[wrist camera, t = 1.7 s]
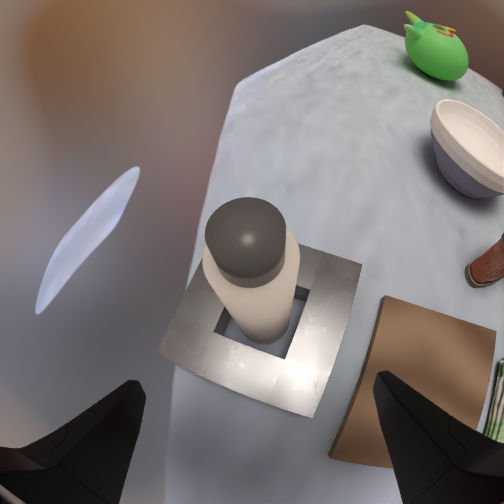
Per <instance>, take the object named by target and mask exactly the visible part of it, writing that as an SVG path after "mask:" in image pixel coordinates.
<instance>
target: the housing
mask: <svg viewBox="0 0 504 504" xmlns="http://www.w3.org/2000/svg"><path fill="white" fill-rule="evenodd" d="M298 246H299V251H300V263H299V270H298V276H297V282H296V288H295V293H294V297H295V298H298V299H301V300H304V301H307V302H306V304H305V307H304V310H303V313H302V316H301V318H300V321H299V324H298V327H297V329H296V332H295V335H294V337H293V340H292V343H291V345H290V348H289V350H288V353H287V356H286V358H285V360H284V359H281V358H278V357H276V356H273V355H270V354H267V353H265V352H262V351H259V350H257V349H254V348H251V347H249V346H246V345H244V344H241V343H239V342H236V341H234V340H231V339H229V338H226V337H224V336H223V334H224V331H225V329H226V327H227V325H228V322H229V320H230V318H231V315H230V313H229V312H228V310H227V309H226V307H225V306H224V304H223V303H222V301H221V300H220V298H219V297H218V295H217V294H216V292H215V291H214V289H213V288H212V286H211V285H210V283H209V282H208V280H207V278H206V276H205V273H204V270H203V258H202V260H201V262H200V264H199V266H198V268H197V270H196V272H195V274H194V276H193V278H192V280H191V282H190V284H189V286H188V288H187V290H186V292H185V294H184V296H183V298H182V300H181V302H180V304H179V306H178V308H177V310H176V312H175V314H174V317H173V319H172V321H171V323H170V325H169V327H168V329H167V331H166V333H165V336H164V338H163V340H162V342H161V344H160V346H159V348H158V351H157V354H159V355H161V356H163V357H164V358H166V359H168V360H170V361H172V362H174V363H176V364H178V365H180V366H181V367H183V368H185V369H187V370H190V371H192V372H194V373H196V374H198V375H200V376H202V377H204V378H206V379H208V380H211V381H213V382H215V383H217V384H220V385H222V386H224V387H227V388H229V389H231V390H234V391H236V392H239V393H241V394H243V395H246V396H249V397H251V398H254V399H256V400H259V401H262V402H264V403H267V404H270V405H273V406H276V407H278V408H281V409H284V410H287V411H290V412H294V413H297V414H300V415H303V416H307V417H310V418H313V416H314V414H315V411H316V409H317V406H318V404H319V402H320V399H321V397H322V394H323V391H324V389H325V386H326V384H327V381H328V378H329V375H330V373H331V370H332V367H333V364H334V361H335V359H336V356H337V353H338V350H339V347H340V344H341V340H342V337H343V334H344V331H345V328H346V324H347V321H348V317H349V314H350V310H351V307H352V303H353V300H354V296H355V292H356V288H357V284H358V280H359V276H360V272H361V268H362V264H360V263H357V262H354V261H350V260H347V259H344V258H341V257H338V256H335V255H332V254H329V253H326V252H323V251H319V250H316V249H313V248H310V247H307V246H304V245H300V244H298Z"/></svg>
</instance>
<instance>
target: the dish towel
mask: <svg viewBox="0 0 504 504" xmlns="http://www.w3.org/2000/svg"><path fill="white" fill-rule="evenodd" d="M484 435H486V436H488V437H490V438H492V439H494V440H496V441H498V442H501V443H504V359H501V360H500V364H499V370H498V376H497V383H496V386H495V392H494V397H493V400H492V405H491V409H490V415H489V418H488V423H487V426H486V430H485V433H484Z"/></svg>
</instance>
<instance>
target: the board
mask: <svg viewBox="0 0 504 504" xmlns="http://www.w3.org/2000/svg"><path fill="white" fill-rule="evenodd" d="M495 341H496V331H494V330H491V329H488V328H485V327H482V326H479V325H476V324H473V323H469V322H466V321H463V320H460V319H457V318H454V317H451V316H448V315H445V314H442V313H439V312H436V311H433V310H429V309H426V308H423V307H420V306H417V305H414V304H411V303H408V302H405V301H402V300H399V299H396V298H392V297H389V296H386V295H385V296H384V297H383V298H382V299H381V303H380V307H379V311H378V315H377V319H376V323H375V327H374V331H373V335H372V339H371V342H370V346H369V349H368V352H367V356H366V359H365V362H364V365H363V369H362V372H361V375H360V378H359V381H358V384H357V386H356V389H355V392H354V395H353V397H352V400H351V403H350V405H349V408H348V411H347V413H346V416H345V418H344V420H343V423H342V425H341V428H340V430H339V432H338V435H337V437H336V439H335V441H334V444H333V446H332V448H331V450H330V452H329V454H328V456H329V457H330V458H332V459H336V460H341V461H346V462H352V463H358V464H364V465H370V466H378V467H386V468H393V465H392V462H391V459H390V455H389V452H388V449H387V446H386V442H385V439H384V436H383V433H382V430H381V427H380V423H379V418H378V413H377V408H376V403H375V399H374V394H373V385H374V381H375V378H376V374H377V372H379V371H384V370H388V371H390V372H391V373H393V374H394V375H395V376H397V377H398V378H400V379H401V380H402V381H404V382H405V383H407V384H408V385H409V386H411V387H412V388H414V389H415V390H416V391H418V392H419V393H421V394H422V395H423V396H425V397H426V398H428V399H429V400H430V401H432V402H433V403H435V404H436V405H438V406H439V407H440V408H442V409H443V410H445V411H446V412H447V413H449V414H450V415H452V416H453V417H455V418H456V419H458V420H459V421H461V422H462V423H464V424H465V425H467V426H469V427H471V428H472V429H474V430H476V429H477V426H478V423H479V420H480V416H481V413H482V409H483V405H484V402H485V398H486V393H487V389H488V384H489V380H490V374H491V369H492V363H493V357H494V349H495Z"/></svg>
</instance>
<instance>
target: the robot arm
mask: <svg viewBox="0 0 504 504" xmlns="http://www.w3.org/2000/svg"><path fill="white" fill-rule="evenodd" d="M373 394H374V399H375V403H376V408H377V413H378V418H379V423H380V427H381V430H382V433H383V436H384V439H385V442H386V446H387V449H388V452H389V455H390V459H391V462H392V465H393V469H394V472H395V476H396V480H397V483H398V487H399V491H400V494H401V498H402V502H403V504H504V443H501V442H498V441H496V440H494V439H492V438H490V437H488V436H486V435H484V434H482V433H480V432H478V431H476V430H474V429H472V428H471V427H469V426H467V425H465V424H464V423H462V422H461V421H459V420H458V419H456V418H455V417H453V416H452V415H450V414H449V413H447V412H446V411H445V410H443V409H442V408H440V407H439V406H438V405H436V404H435V403H433V402H432V401H430V400H429V399H428V398H426V397H425V396H423V395H422V394H421V393H419V392H418V391H416V390H415V389H414V388H412V387H411V386H409V385H408V384H407V383H405V382H404V381H402V380H401V379H400V378H398V377H397V376H395V375H394V374H393V373H391V372H390V371H388V370H384V371H379V372H377V374H376V378H375V381H374V385H373ZM145 402H146V395H145V392H144V390H143V388H142V386H141V384H140V382H139V381H137V380H128V381H126V382H125V383H124V384H122V385H121V386H119V387H118V388H117V389H115V390H114V391H112V392H111V393H110V394H108V395H107V396H105V397H104V398H103V399H101V400H100V401H98V402H97V403H95V404H94V405H92V406H91V407H90V408H88V409H87V410H85V411H84V412H83V413H81V414H80V415H78V416H77V417H75V418H74V419H72V420H71V421H70V422H69V423H66V424H65V425H63V426H62V427H60V428H59V429H57V430H56V431H54V432H52V433H50V434H49V435H47V436H45V437H43V438H41V439H39V440H37V441H35V442H33V443H31V444H29V445H27V446H25V447H22V448H7V447H0V504H119V501H120V497H121V494H122V490H123V486H124V483H125V479H126V475H127V472H128V468H129V465H130V461H131V458H132V455H133V451H134V448H135V444H136V441H137V438H138V435H139V431H140V427H141V422H142V416H143V412H144V406H145Z"/></svg>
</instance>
